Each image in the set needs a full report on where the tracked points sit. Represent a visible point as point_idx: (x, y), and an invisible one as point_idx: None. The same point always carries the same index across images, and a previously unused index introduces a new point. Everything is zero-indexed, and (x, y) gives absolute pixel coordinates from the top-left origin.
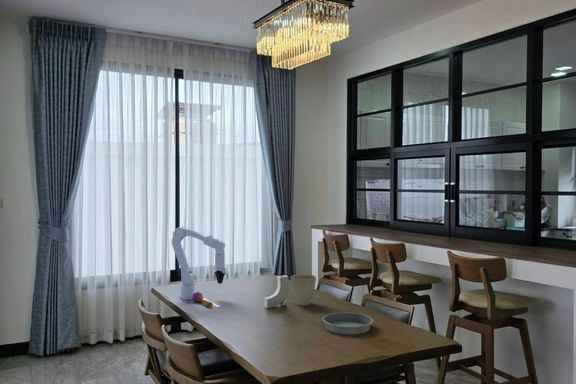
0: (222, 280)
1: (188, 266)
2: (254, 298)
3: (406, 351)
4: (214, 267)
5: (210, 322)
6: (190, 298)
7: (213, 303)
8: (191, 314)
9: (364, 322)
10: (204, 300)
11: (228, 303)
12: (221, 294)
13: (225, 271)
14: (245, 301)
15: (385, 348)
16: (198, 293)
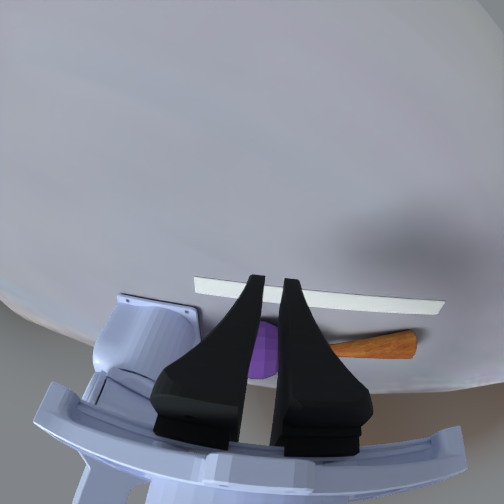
0: (304, 306)
1: (100, 477)
2: (450, 15)
3: None
4: (127, 472)
5: (493, 372)
6: (195, 334)
7: (367, 299)
8: (409, 390)
9: None
10: (358, 357)
11: (434, 237)
12: (150, 128)
13: (454, 452)
14: (478, 125)
15: None
16: (273, 372)
